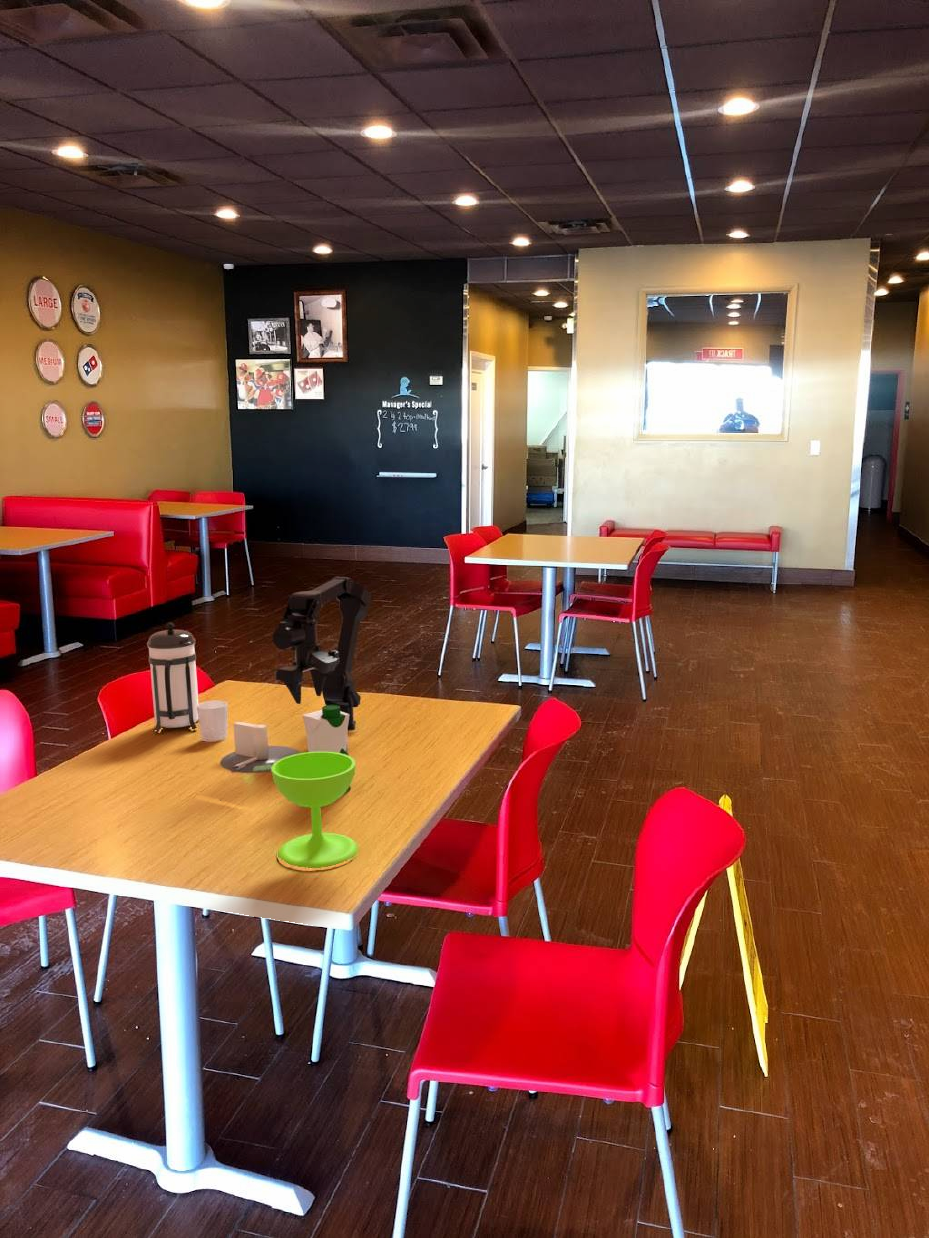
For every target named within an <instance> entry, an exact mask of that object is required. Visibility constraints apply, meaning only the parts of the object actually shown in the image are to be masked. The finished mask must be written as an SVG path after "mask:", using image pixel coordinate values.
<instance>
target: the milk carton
mask: <svg viewBox="0 0 929 1238" xmlns="http://www.w3.org/2000/svg"><path fill="white" fill-rule="evenodd" d="M302 719H303V725H304V729H305V732H306V743H307V744H306V747H307V748H306V749H307V752H337V753H342V754H346V755H348V756H349V745H348V743H349V741H348V740H349V739H348V737H349V736H348V730H349V729H348V722H349V714H347V713H344V712H341V711H340V706H338V705H323V706H322V707H321V709H320V710H315V711H313V712H309V713H304V714H302ZM351 789H352V788H351V786H350V787H349V788H348V789H347V791H348V790H351Z"/></svg>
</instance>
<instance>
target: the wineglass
mask: <svg viewBox="0 0 929 1238" xmlns="http://www.w3.org/2000/svg"><path fill="white" fill-rule="evenodd" d="M270 772H271V774H272V780H273V782H274V785H275V786H276V788H277V790H278V791H279V793H280V794H282V796H284V797H285V798H286V800H288V801H289V802H291V803H293V804H296V806H299V807H302V808H303V807H304V808H310V816H311V817H310V818H311V819H310V820H311V833H309V834H307V833H306V834H304V835H300V836H298V837H293V838H292V839H290V840H288V841H287V842H285V843H284V844H282V845H281V846H280V847H279V849H280V850H279V849H278V850H277V852H278V857H279V858H281V860H284V861H285V862H286V863H288V864H290V865H294V866H298V867H305V868H306V867H308V868H321V867H328V866H332V865H336V864H339V863H342V862H344V861H347V860H348V859H350V858H353V857H354V856H355V855H356V854H357V852H358V848H359V845H358V843H356V842H355V841H354V839H352V838H350V837H348V836H347V835H343V834H339V833H333V832H323V828H322V825H323V824H322V808H321V807H325V806H328V805H331V804H334V802H336V801H338V799H340V798H342V797H343V795H345V794H346V792H347V791H348V790H347V789H348V788H349V787H351V785H352V782H353V779H354V777H355V775H356V774H355V773H356V759H354V758H353V757H352V756H350V755H349V754H348V755H346V754H342V753H337V752H308V751H307V752H306V751H305V752H301V753H300V754H295V755H291V756H287V757H285V758H282V759H280V760H278V761H277V762H275V763H274V764H273V765H272V767H271V771H270Z"/></svg>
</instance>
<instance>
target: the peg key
mask: <svg viewBox="0 0 929 1238" xmlns="http://www.w3.org/2000/svg"><path fill="white" fill-rule="evenodd" d="M268 734H269V733H268V725H266V724H253V723H249V722H244V721H243V722H242V721H236V722H233V737H234V738H233V739H234V741H233V742H234V752H235V754H239V755H244V756H249V757H254V758H251V759H249V760H247V761H244V762H242V763H240V764H237V765H234V766H232V769H237V768H239V767H240V766H243V765H245V764H248V763H250V762H252V761H255V760H265V759H268V758H269V749H268V746H269V735H268Z"/></svg>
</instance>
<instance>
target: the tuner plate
mask: <svg viewBox="0 0 929 1238" xmlns="http://www.w3.org/2000/svg"><path fill="white" fill-rule="evenodd" d="M268 749H269V758H268V759H265V760H255V761H252V762H250V763H248V764H245V765H243V766H240V767H239V768H237V769H232V766H234V765H237V764H240V763H242V762H244V761H247V760H249V759H251V758H254V757H249V756H244V755H239V754H235V751H233V752H230V753H228V754H226V755H225V756H224V757H222V758H221V760H220V763H219V764H220V766H221V767H222V768H224V769H225V770H228V771H229V772H230V771H231V772H235V773H240V774H241V773H242V774H245V773H246V774H254V773H255V774H259V773H269V772H272V771H271V767H272V765H273V764H274V763H275V762H277V761H278V760H280V759H282V758H285V757H287V756H291V755H295V754H300V753H302V752H300V751H299V750H298V749H296V748H292V747H289V746H283V745H282V746H281V745H268Z"/></svg>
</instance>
